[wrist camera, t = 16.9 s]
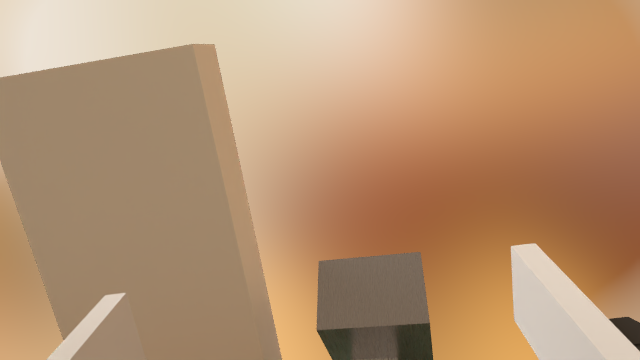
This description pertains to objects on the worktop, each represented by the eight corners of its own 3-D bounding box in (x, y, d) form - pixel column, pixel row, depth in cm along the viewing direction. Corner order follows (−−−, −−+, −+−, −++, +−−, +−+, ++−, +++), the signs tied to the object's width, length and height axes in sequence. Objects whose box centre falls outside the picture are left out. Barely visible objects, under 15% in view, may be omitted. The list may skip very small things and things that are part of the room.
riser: (135, 420, 42) (25, 77, 34) (291, 403, 40) (214, 44, 33) (108, 469, 37) (-28, 82, 29) (284, 452, 36) (192, 44, 28)
